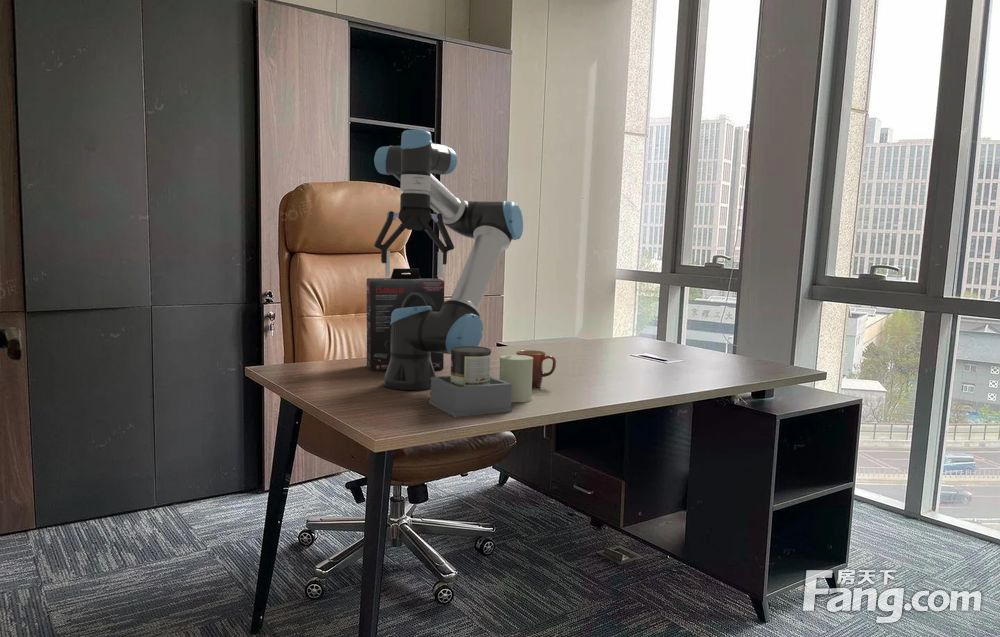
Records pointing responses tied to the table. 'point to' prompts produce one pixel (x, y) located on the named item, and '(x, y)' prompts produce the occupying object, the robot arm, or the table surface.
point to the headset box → (392, 296)
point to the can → (517, 376)
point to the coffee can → (470, 366)
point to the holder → (471, 397)
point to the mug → (538, 365)
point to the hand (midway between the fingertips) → (413, 277)
